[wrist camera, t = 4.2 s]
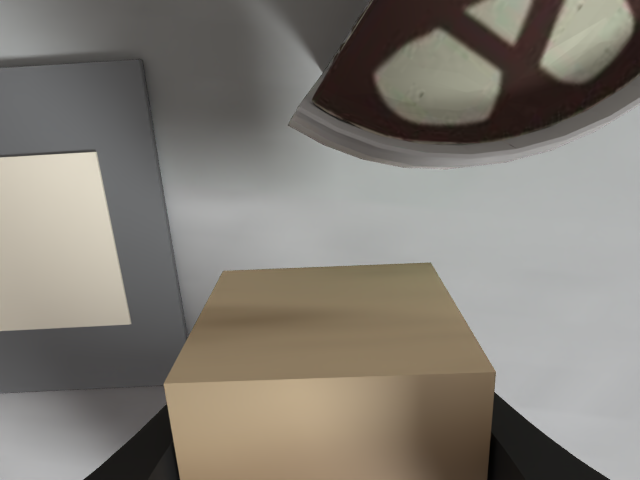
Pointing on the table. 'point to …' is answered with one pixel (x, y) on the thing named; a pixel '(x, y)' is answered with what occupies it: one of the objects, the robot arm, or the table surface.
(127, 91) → the gray rectangular panel
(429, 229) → the table surface
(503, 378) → the table surface
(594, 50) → the food container
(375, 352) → the oak block
